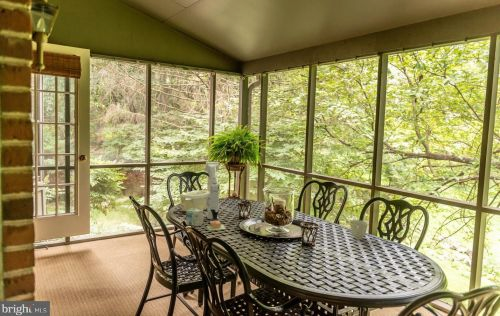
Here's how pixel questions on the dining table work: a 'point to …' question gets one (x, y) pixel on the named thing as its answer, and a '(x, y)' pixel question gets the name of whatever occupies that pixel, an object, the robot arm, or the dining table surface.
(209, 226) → the mat
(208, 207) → the robot arm
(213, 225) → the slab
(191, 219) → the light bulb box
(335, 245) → the dining table surface
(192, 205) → the storage basket
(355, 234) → the teacup
